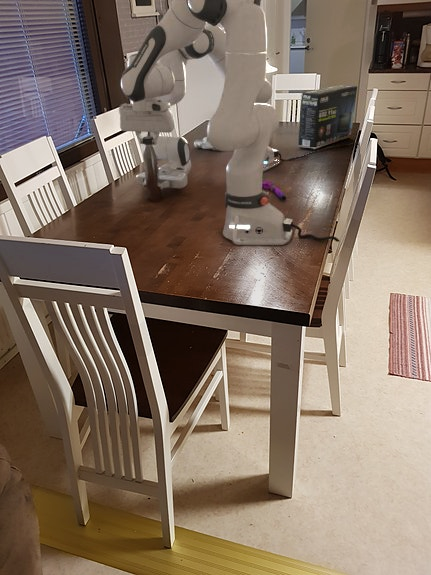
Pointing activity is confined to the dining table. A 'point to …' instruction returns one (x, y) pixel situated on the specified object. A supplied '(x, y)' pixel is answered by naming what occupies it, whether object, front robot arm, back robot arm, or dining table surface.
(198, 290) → the dining table surface
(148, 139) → the cap
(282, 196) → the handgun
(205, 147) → the fossil
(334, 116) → the router box
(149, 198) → the bottle
